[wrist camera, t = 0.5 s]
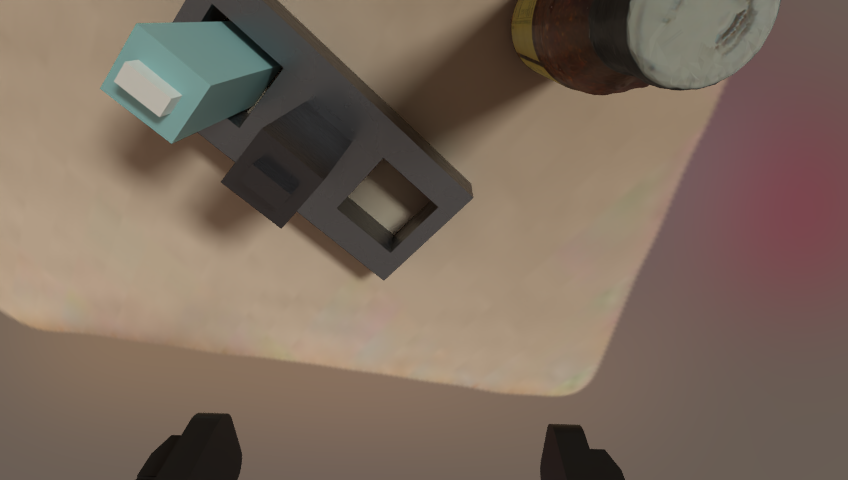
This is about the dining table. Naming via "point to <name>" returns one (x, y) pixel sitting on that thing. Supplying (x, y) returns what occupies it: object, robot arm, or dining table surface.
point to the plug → (188, 75)
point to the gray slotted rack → (324, 141)
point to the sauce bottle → (639, 41)
